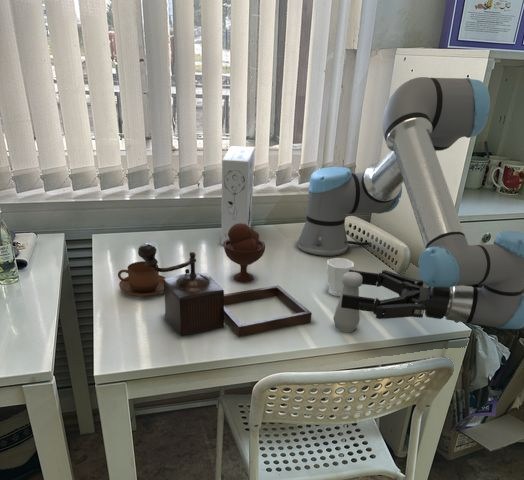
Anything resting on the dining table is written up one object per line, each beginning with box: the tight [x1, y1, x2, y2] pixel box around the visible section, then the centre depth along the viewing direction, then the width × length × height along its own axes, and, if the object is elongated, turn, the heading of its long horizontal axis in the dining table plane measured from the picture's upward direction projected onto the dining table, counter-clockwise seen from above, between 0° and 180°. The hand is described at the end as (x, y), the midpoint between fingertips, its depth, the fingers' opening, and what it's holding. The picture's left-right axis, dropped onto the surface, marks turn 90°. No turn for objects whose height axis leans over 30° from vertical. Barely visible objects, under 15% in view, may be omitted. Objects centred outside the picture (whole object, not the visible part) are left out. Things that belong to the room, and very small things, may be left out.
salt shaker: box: [332, 272, 363, 333], centre depth 113 cm, size 6×6×13 cm
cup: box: [326, 257, 355, 297], centre depth 131 cm, size 7×10×8 cm
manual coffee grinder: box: [137, 242, 225, 337], centre depth 110 cm, size 16×11×18 cm
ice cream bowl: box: [223, 223, 266, 284], centre depth 133 cm, size 11×11×15 cm
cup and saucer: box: [117, 260, 167, 297], centre depth 127 cm, size 12×12×6 cm
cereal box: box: [220, 145, 255, 246], centre depth 161 cm, size 22×8×25 cm, turn 177°
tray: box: [224, 285, 313, 338], centre depth 119 cm, size 18×16×2 cm
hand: (345, 287), depth 112 cm, fingers open, 13 cm apart
